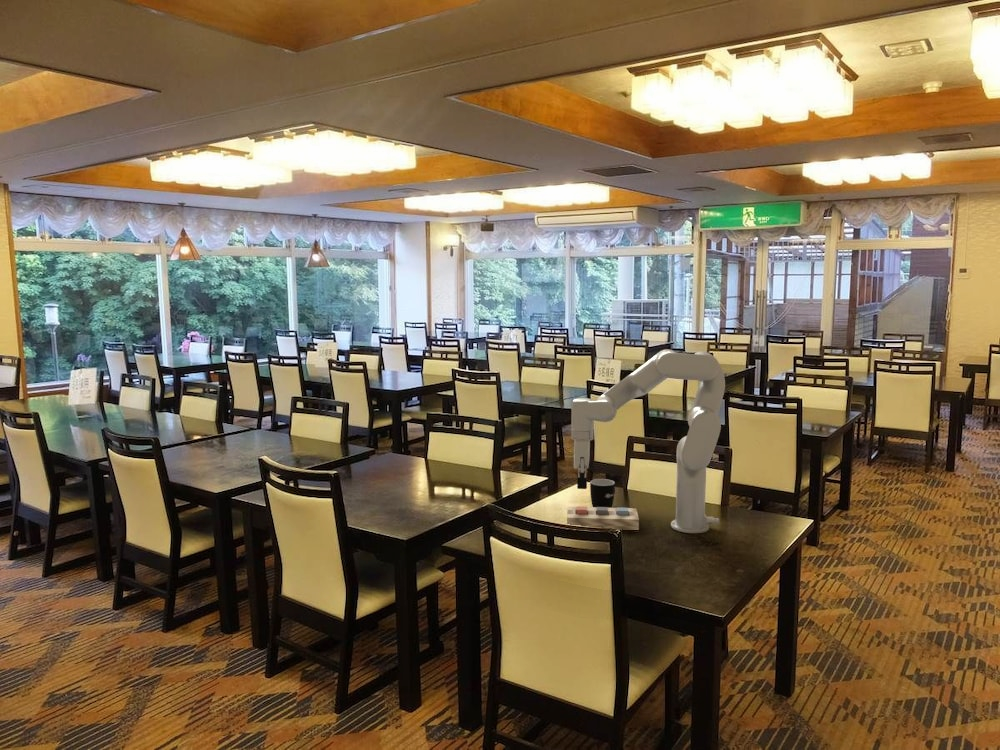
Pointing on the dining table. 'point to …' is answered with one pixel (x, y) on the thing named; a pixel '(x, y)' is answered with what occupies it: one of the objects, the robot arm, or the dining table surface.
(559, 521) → the dining table surface
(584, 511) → the button red
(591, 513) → the panel
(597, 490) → the mug
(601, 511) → the button grey
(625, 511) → the button blue
